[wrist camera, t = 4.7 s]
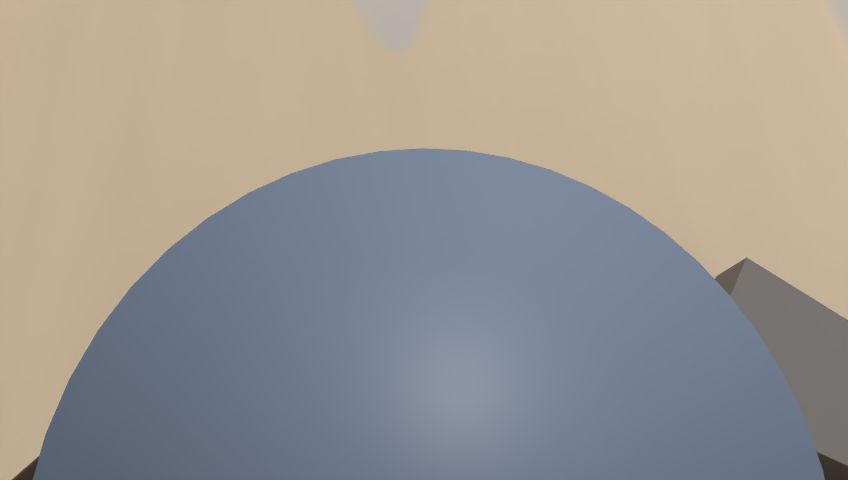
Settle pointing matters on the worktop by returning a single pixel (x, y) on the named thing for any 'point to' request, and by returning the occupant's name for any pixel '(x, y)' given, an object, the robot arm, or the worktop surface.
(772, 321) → the rubber mat
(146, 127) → the worktop surface
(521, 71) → the worktop surface
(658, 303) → the domed octagonal peg
